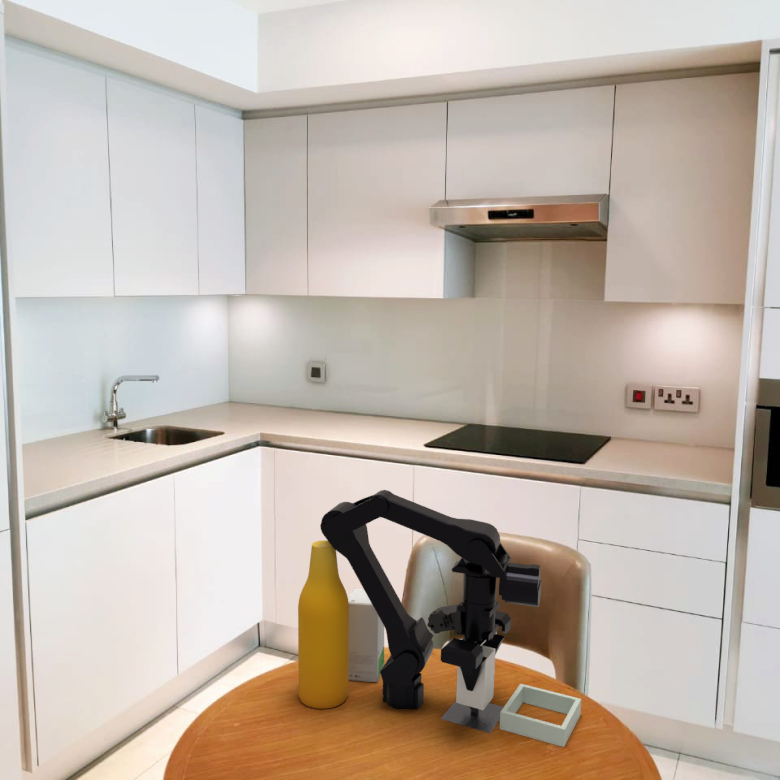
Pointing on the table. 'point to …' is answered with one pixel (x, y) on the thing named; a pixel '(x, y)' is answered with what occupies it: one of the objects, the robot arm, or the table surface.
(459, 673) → the grey tall block
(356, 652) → the skincare box
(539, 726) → the bin
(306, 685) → the beer bottle
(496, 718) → the stud plate
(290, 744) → the table surface
